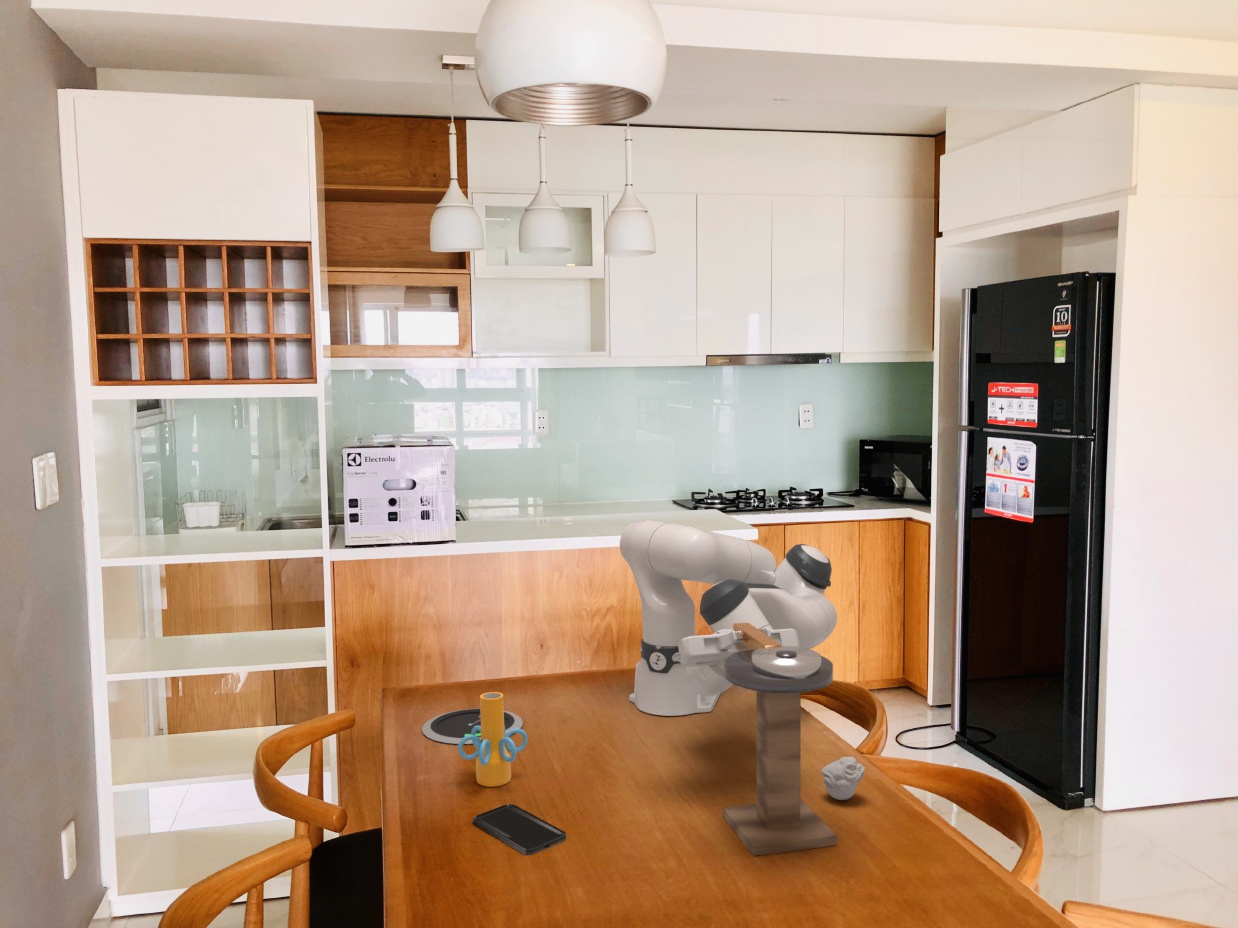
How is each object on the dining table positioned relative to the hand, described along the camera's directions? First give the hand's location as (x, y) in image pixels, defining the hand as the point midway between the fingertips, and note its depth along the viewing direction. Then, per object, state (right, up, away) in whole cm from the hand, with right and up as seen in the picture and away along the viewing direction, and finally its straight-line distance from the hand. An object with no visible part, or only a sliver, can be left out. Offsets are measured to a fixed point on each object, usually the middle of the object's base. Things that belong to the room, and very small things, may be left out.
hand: (752, 634), depth 153 cm
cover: (+2, -2, -6) cm, 7 cm away
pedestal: (+3, -28, -8) cm, 30 cm away
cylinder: (-43, -28, +12) cm, 52 cm away
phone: (-37, -29, -7) cm, 48 cm away
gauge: (-51, -26, +38) cm, 69 cm away
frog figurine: (+15, -28, +3) cm, 32 cm away
